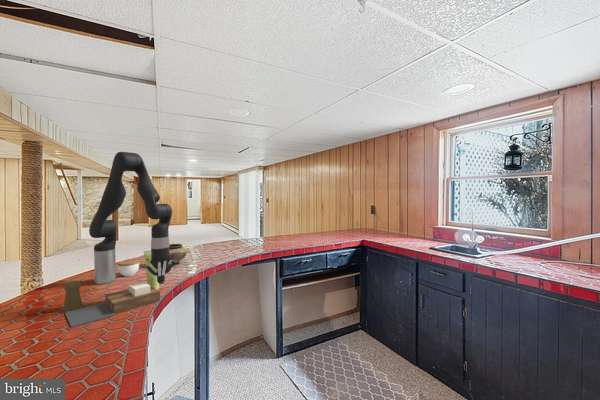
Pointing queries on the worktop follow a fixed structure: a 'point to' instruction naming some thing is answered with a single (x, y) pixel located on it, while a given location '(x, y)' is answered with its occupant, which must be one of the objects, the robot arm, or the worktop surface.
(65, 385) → the worktop surface
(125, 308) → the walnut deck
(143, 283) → the ivory card box
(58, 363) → the worktop surface
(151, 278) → the tube
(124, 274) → the lidded jar
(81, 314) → the charcoal mat
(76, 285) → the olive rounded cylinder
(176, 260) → the ceramic bowl
